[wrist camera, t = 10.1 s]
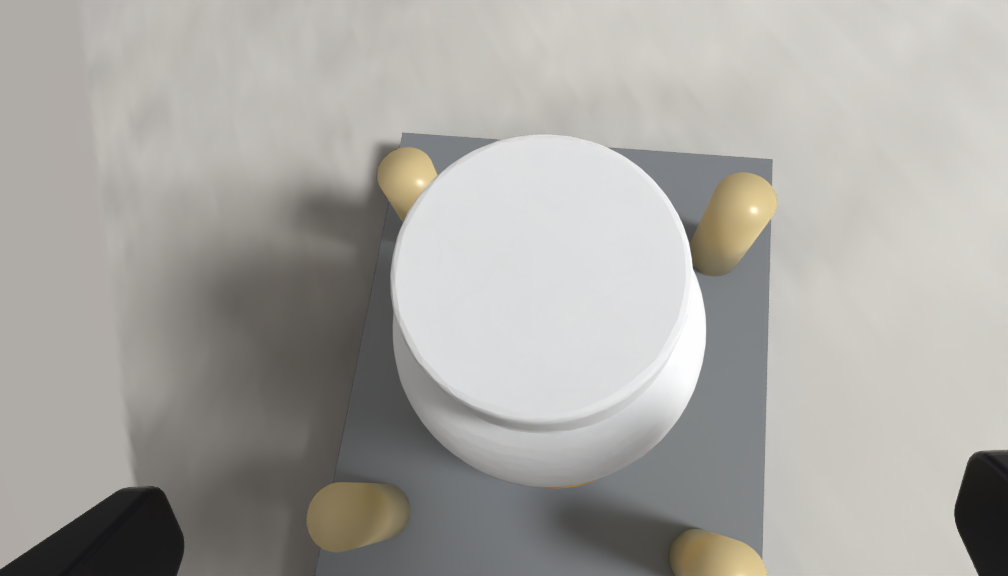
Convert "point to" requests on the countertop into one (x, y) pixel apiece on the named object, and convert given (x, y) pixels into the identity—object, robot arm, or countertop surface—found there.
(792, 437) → the countertop surface
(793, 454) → the countertop surface
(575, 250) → the supplement bottle
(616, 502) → the plate
